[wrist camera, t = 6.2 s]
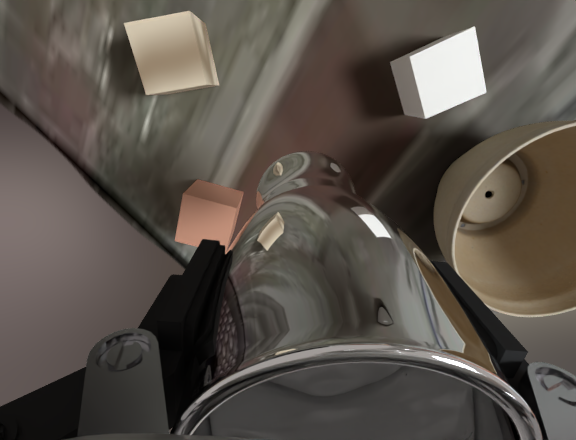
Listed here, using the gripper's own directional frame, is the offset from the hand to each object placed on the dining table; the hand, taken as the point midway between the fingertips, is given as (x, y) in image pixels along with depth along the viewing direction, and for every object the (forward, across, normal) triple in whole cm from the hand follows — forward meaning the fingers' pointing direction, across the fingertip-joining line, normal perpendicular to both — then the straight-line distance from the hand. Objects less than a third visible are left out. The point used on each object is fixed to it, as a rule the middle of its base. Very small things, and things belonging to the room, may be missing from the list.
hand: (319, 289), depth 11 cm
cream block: (+23, -11, -8) cm, 27 cm away
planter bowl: (+23, -20, +2) cm, 30 cm away
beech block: (+23, +11, -7) cm, 27 cm away
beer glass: (+9, 0, 0) cm, 9 cm away
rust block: (+23, +8, +7) cm, 25 cm away
